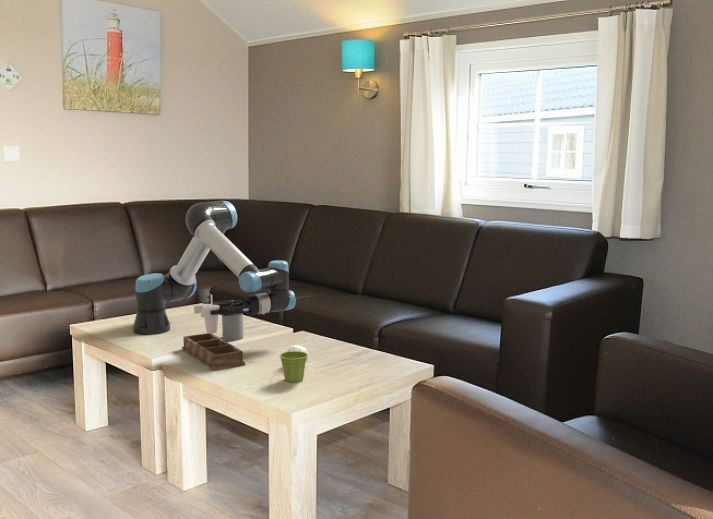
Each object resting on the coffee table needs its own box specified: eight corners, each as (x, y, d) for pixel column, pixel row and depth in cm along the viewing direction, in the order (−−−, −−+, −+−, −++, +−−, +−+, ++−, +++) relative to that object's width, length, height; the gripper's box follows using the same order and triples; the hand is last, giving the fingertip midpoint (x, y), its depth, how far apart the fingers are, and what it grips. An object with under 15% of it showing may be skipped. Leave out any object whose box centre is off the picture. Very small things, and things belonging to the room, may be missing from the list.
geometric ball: (291, 374, 257) (277, 357, 256) (302, 361, 264) (288, 344, 262) (305, 368, 253) (291, 350, 251) (316, 354, 259) (302, 337, 258)
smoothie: (223, 330, 270) (222, 293, 268) (215, 335, 264) (213, 297, 262) (208, 329, 272) (207, 292, 270) (199, 333, 266) (198, 296, 264)
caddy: (182, 349, 280) (181, 336, 279) (211, 344, 286) (211, 332, 285) (213, 370, 253) (212, 356, 252) (245, 365, 259) (244, 351, 258)
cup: (238, 341, 291) (238, 316, 289) (219, 340, 293) (218, 315, 291) (246, 335, 299) (245, 312, 298) (227, 334, 301) (226, 311, 299)
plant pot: (280, 375, 247) (279, 351, 246) (307, 375, 248) (307, 350, 247) (279, 384, 238) (279, 359, 237) (308, 384, 239) (308, 358, 237)
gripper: (267, 318, 269) (207, 327, 257) (246, 309, 285) (188, 316, 273) (267, 298, 268) (207, 306, 255) (245, 290, 284) (188, 296, 271)
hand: (197, 311), depth 264 cm, fingers closed on smoothie, 6 cm apart
